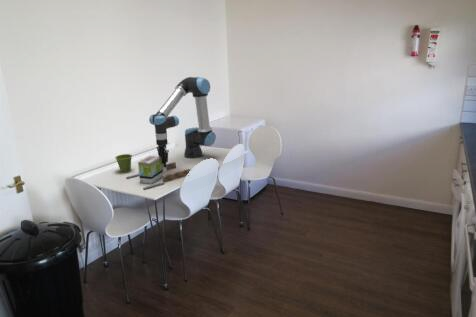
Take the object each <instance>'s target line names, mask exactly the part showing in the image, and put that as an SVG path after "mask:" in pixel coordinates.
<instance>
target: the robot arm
mask: <svg viewBox="0 0 476 317" xmlns="http://www.w3.org/2000/svg"><path fill="white" fill-rule="evenodd" d="M210 90H211V84H210V81H209V80H208V79H207V78H205V77H200V76H196V77H195V76H193V77H192V76H188V77H186V78H183V79H182V80H181V81H180V82H179V83H178V84H176V86H175V88H174V90H173V92H172V93H171V94H170V96H169V97H168V98H167V99H166V101H165V102H164V103H163V104H162V106H161V107H160V108H159V109H158V111H156V113H155V114H154V113H153V114H150V116H149V124H151V125H153V126H154V131H155V143H156V145H157V146H156V151H157V154H158V157H162V169H163V173H164V172H168V170H167V168H166V164H167V163H168V162H169V151H170V150H169V149H167V145H168V143H169V142H168V133H167V132H168V131H167V129H171V128H175V127H177V126H179V124H180V119H179V117H178V116H176V115H171V116H169V115H170V113H172V112H173V110H174V109H175V107H176V106H177V104H178V103H180V101H181V100H182V98H183V97H186V96H187V94H189V93H191V95H192V97H193V98H194V100H195V108H196V116H197V123H198V127H191V128H190V127H188V128H185V129H184V140H185V149H184V155H183V156H184V158H187V159H195V158H201V157H202V156H203V150H202V148H201V146H205V147H211V146H213V145H214V144H215V142H216V139H217V134H216V133H215V132H214V131H213V128H212V127H211V125H210V118H209V110H208V109H209V108H208V100H207V97H208V96H209V93H210V92H211V91H210Z"/></svg>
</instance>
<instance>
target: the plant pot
mask: <svg viewBox="0 0 476 317" xmlns="http://www.w3.org/2000/svg"><path fill="white" fill-rule="evenodd" d="M132 157H133V155H132V154H131V153H130V154H129V153H125V154H119V155H116V156H115V157H114V158H115V160H116V162H117V165H118V168H119V171H120V173H129V172H130V171H132Z"/></svg>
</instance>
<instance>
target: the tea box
mask: <svg viewBox="0 0 476 317" xmlns="http://www.w3.org/2000/svg"><path fill="white" fill-rule="evenodd" d="M137 165H138V174H139V176H138V178H139V183H142V184H148V185H149V184H151V185H154V183H155V182H157V181H158V180H159V179H161V178H163V176H164V172H163V169H162V157H159V156H154V155H153V156H152V155H149V156H147V157H145V158H144V159H141V160H140V161H138V163H137Z"/></svg>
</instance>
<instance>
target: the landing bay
mask: <svg viewBox="0 0 476 317" xmlns="http://www.w3.org/2000/svg"><path fill="white" fill-rule="evenodd" d="M137 177H138V178H139V173H136V174H133V175H129V176H126V177H125V178H126V180H129V179H133V178H137ZM164 185H165V182H163V181H162V182H158V183H155V184H154V183H153V184H151V185H148V186H144V187H143V188H142V189H143V190H144V191H146V189H147V190H149V189H153V188H156V187H159V186H164Z"/></svg>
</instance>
